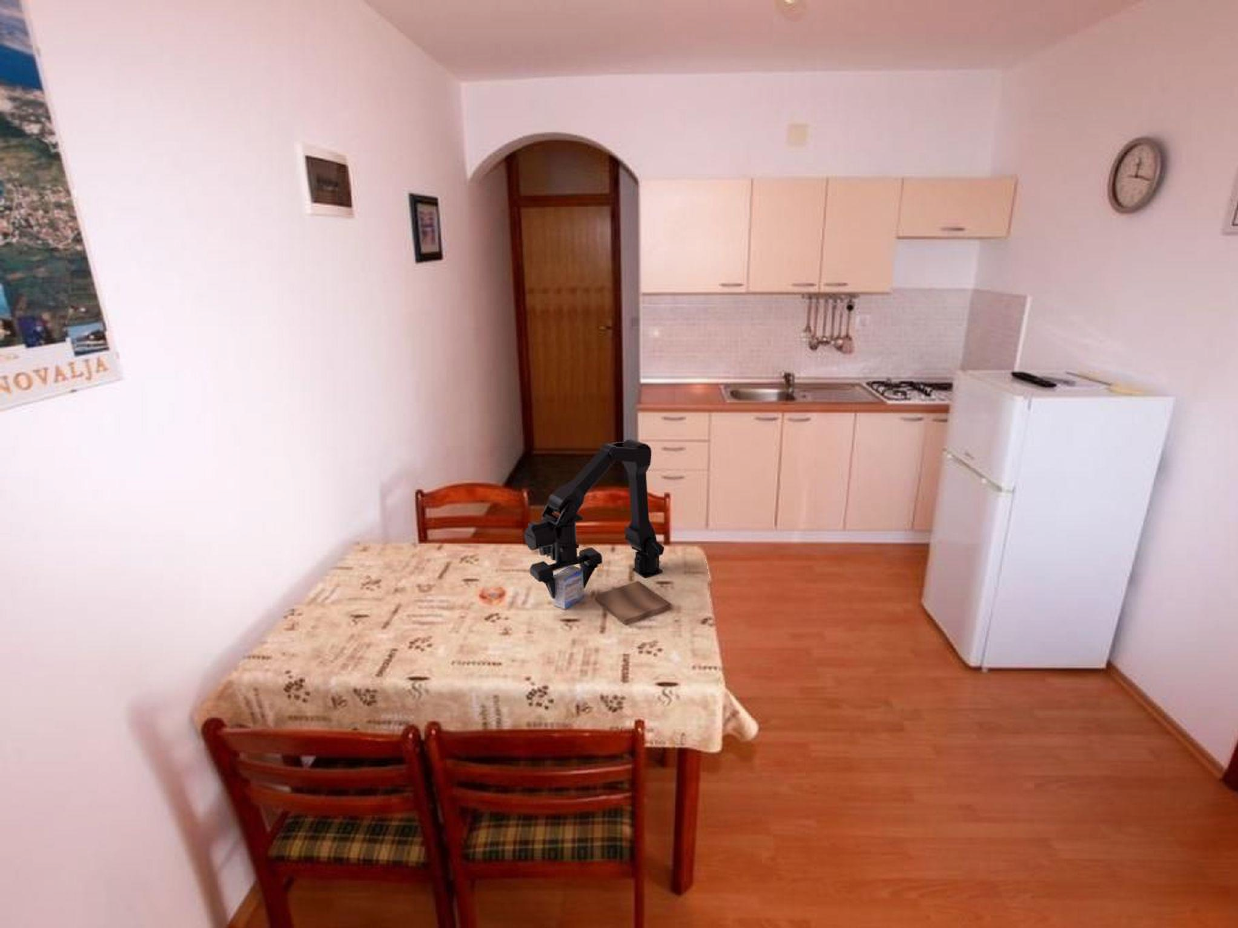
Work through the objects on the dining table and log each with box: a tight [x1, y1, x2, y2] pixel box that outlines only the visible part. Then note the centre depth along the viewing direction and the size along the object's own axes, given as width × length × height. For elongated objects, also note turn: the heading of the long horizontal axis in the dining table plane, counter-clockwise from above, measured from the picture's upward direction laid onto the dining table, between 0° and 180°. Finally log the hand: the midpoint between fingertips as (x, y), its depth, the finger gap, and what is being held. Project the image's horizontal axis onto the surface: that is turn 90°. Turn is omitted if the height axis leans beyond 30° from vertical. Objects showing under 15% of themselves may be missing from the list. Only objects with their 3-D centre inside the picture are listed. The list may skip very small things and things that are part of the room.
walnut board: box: [594, 580, 672, 626], centre depth 172 cm, size 14×15×2 cm
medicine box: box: [552, 565, 585, 610], centre depth 173 cm, size 8×4×9 cm, turn 142°
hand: (568, 592), depth 174 cm, fingers closed on medicine box, 9 cm apart
